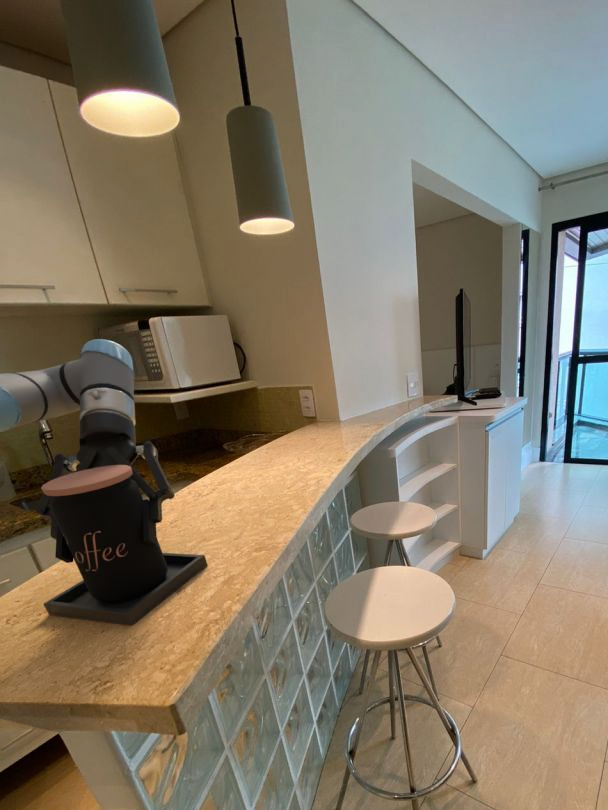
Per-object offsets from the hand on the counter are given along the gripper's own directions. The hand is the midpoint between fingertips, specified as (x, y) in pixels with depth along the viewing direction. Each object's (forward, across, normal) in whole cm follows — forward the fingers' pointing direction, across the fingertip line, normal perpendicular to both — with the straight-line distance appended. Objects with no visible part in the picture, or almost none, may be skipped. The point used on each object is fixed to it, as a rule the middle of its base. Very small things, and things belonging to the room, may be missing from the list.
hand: (108, 551), depth 58 cm
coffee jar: (+3, 0, +8) cm, 8 cm away
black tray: (+4, 0, +8) cm, 9 cm away
